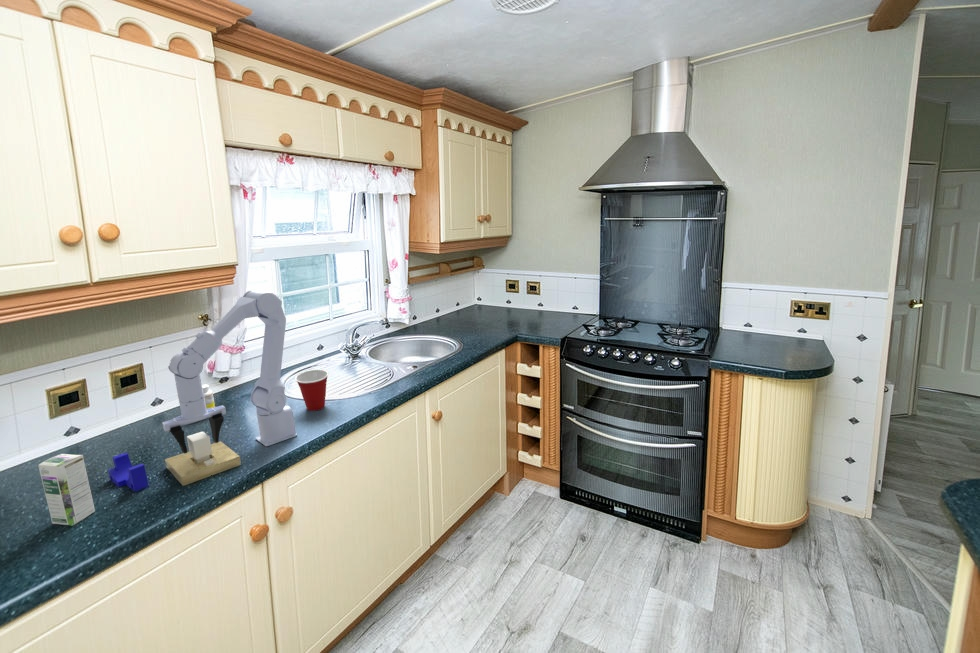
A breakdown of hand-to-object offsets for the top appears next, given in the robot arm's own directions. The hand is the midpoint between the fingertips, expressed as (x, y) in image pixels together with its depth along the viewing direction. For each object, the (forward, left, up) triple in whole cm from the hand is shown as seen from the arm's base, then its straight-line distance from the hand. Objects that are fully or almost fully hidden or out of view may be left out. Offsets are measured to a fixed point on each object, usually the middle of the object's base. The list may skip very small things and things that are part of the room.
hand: (200, 446), depth 136 cm
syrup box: (+28, +3, -6) cm, 29 cm away
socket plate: (0, 0, -6) cm, 6 cm away
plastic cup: (-40, -15, -6) cm, 43 cm away
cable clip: (+16, -5, -6) cm, 18 cm away
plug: (0, 0, -5) cm, 5 cm away
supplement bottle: (-13, -38, -6) cm, 41 cm away
